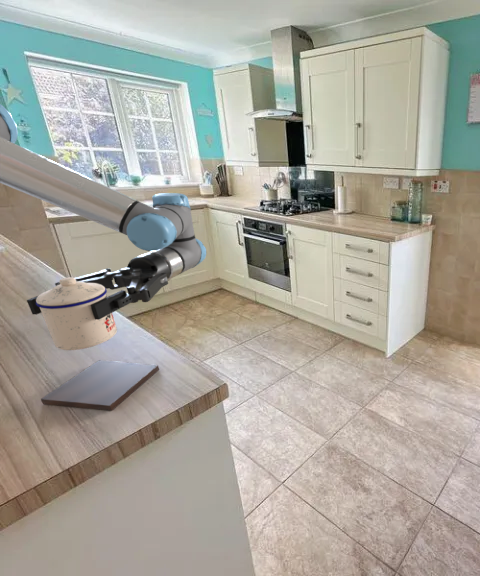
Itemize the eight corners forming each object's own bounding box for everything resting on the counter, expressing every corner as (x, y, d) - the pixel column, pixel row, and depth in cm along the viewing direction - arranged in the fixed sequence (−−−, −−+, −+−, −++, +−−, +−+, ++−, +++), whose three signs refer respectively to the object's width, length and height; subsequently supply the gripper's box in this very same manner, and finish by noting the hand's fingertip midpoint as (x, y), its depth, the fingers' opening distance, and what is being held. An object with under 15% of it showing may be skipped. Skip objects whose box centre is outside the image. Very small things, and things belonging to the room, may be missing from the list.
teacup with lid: (125, 337, 60) (107, 279, 56) (58, 358, 54) (32, 294, 49) (108, 316, 67) (91, 262, 63) (47, 332, 61) (23, 273, 56)
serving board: (42, 404, 59) (40, 399, 58) (100, 364, 70) (99, 359, 69) (111, 410, 58) (109, 405, 58) (159, 369, 69) (158, 365, 69)
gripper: (206, 286, 77) (133, 334, 57) (112, 279, 78) (7, 324, 58) (200, 255, 74) (122, 294, 54) (103, 249, 75) (-10, 284, 55)
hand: (62, 310), depth 56 cm, fingers closed on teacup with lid, 11 cm apart
